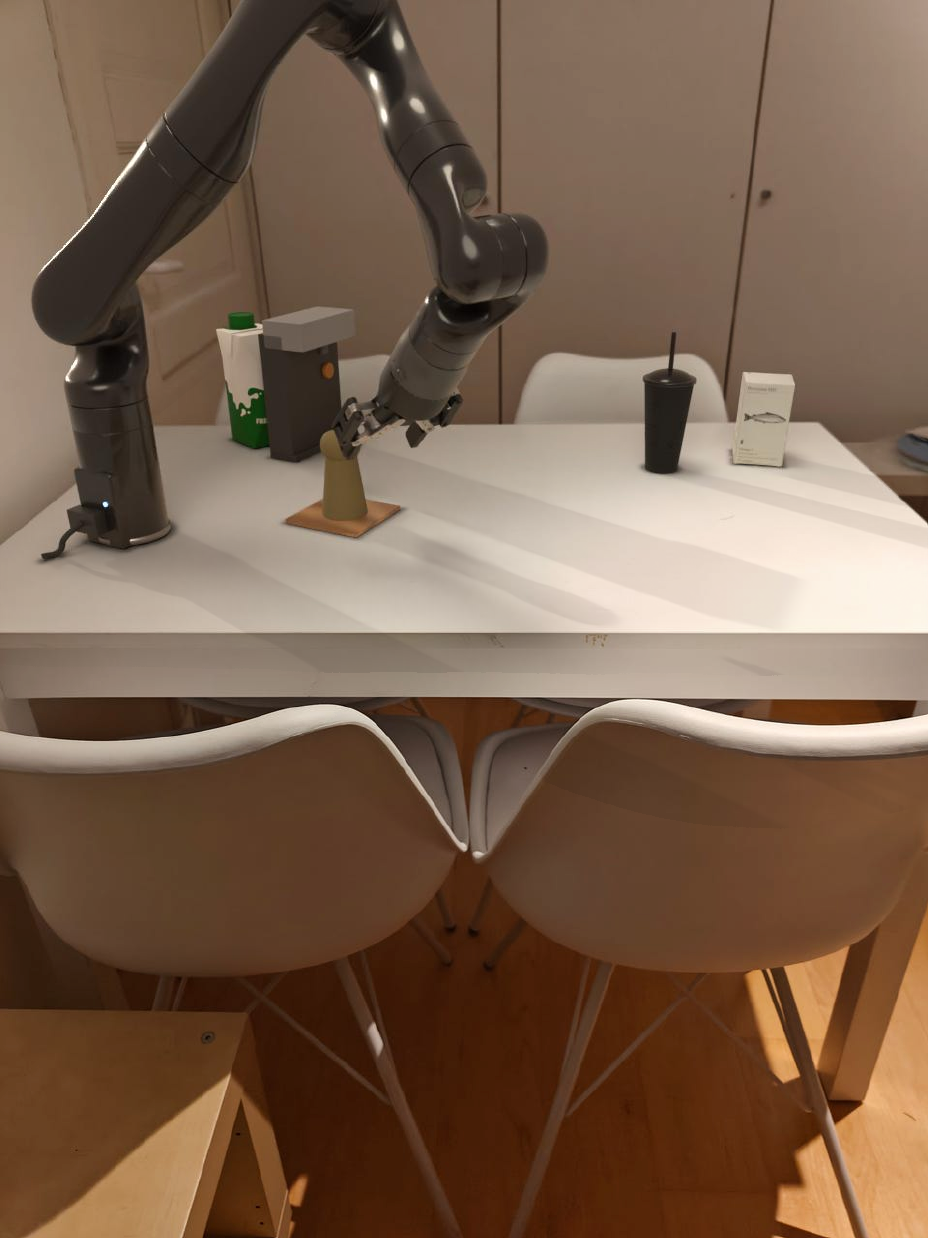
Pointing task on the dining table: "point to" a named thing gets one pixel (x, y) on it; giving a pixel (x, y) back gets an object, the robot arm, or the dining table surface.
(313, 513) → the coaster
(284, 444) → the coffee machine
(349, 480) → the pepper shaker
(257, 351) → the milk carton
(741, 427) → the white packaging box
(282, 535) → the dining table surface
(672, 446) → the drinking cup
